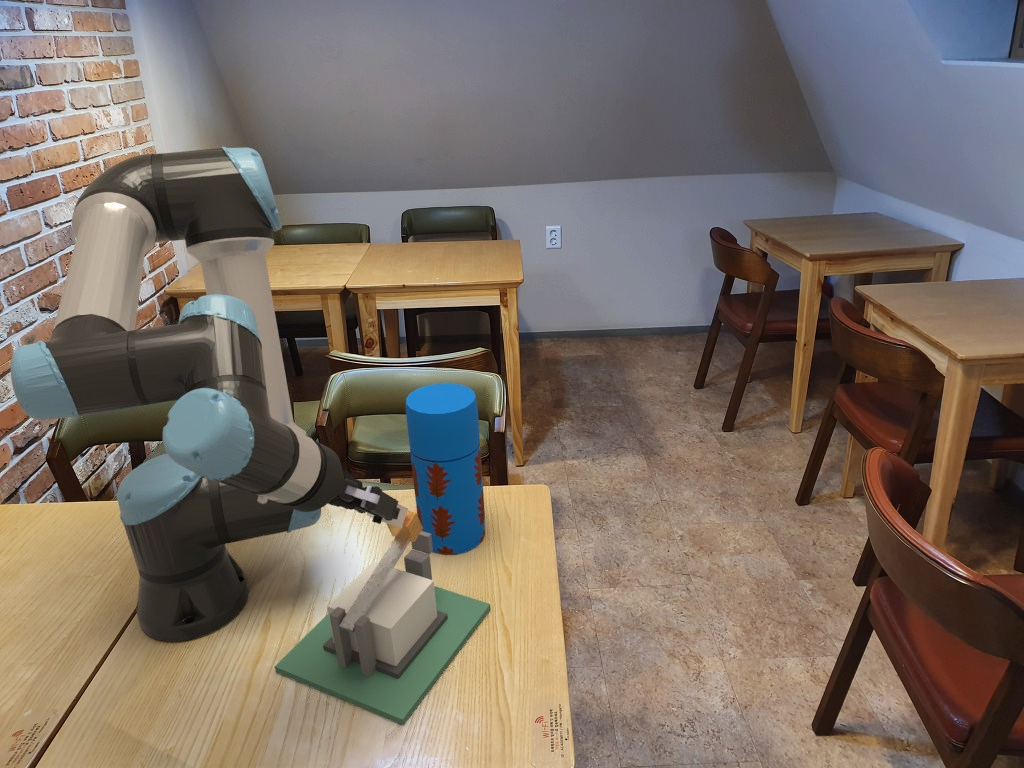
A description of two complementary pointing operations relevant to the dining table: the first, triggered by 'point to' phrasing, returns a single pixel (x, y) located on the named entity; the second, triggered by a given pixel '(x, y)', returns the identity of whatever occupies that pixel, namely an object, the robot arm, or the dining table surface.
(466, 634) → the lever on green base
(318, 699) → the dining table surface
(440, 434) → the thermos
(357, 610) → the grey and orange bar
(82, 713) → the dining table surface
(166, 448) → the robot arm
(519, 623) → the dining table surface
